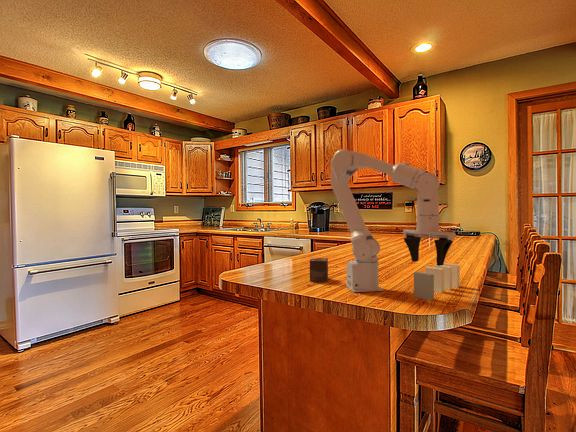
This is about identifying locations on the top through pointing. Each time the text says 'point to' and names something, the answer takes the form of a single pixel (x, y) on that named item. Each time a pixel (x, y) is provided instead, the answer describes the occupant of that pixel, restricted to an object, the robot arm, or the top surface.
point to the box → (319, 269)
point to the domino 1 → (424, 285)
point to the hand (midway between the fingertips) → (427, 263)
